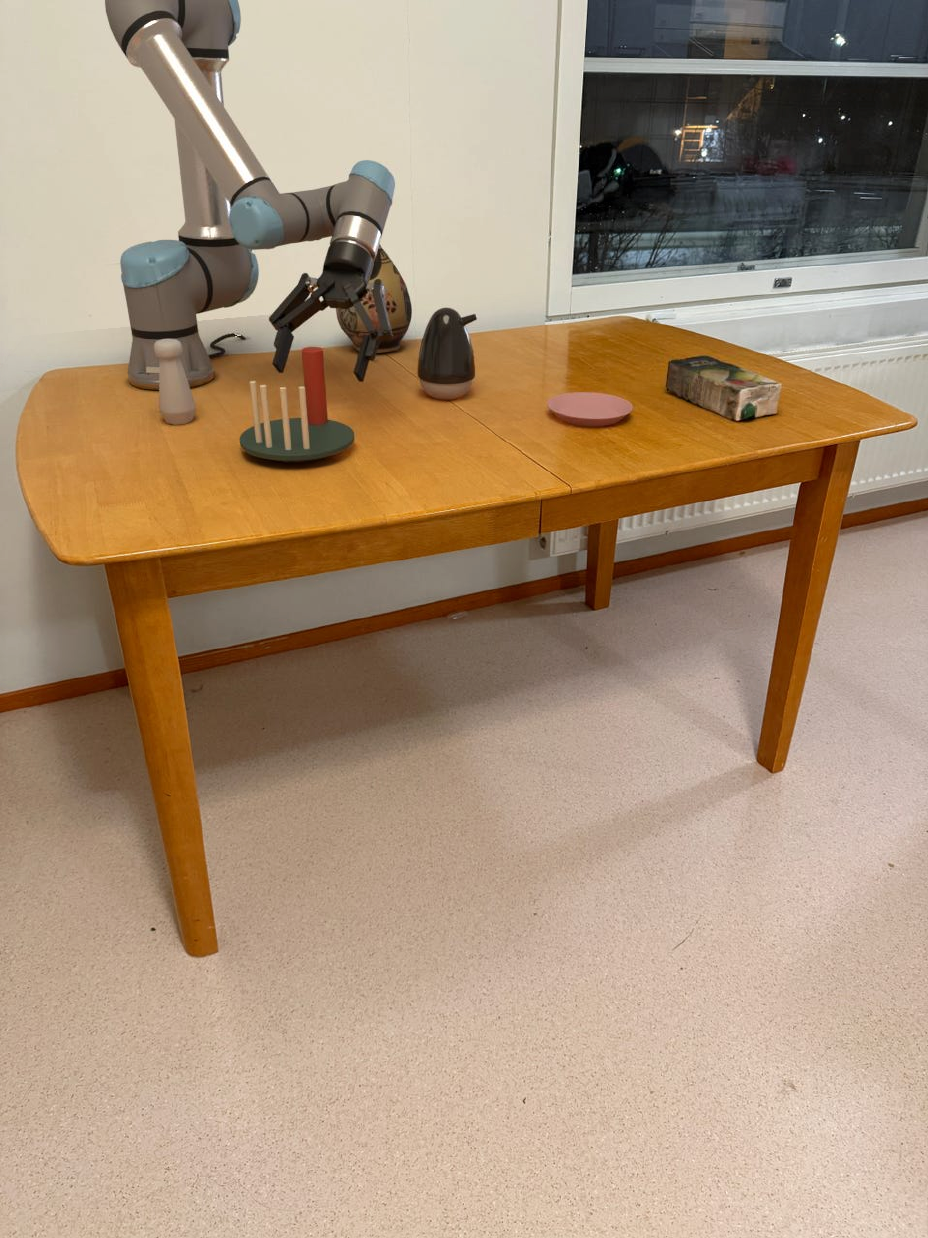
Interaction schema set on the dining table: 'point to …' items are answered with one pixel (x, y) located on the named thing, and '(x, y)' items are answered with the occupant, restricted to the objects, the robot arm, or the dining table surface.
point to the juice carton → (723, 387)
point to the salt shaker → (173, 384)
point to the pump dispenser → (446, 355)
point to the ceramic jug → (394, 302)
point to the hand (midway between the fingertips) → (317, 373)
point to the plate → (589, 408)
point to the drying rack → (297, 420)
